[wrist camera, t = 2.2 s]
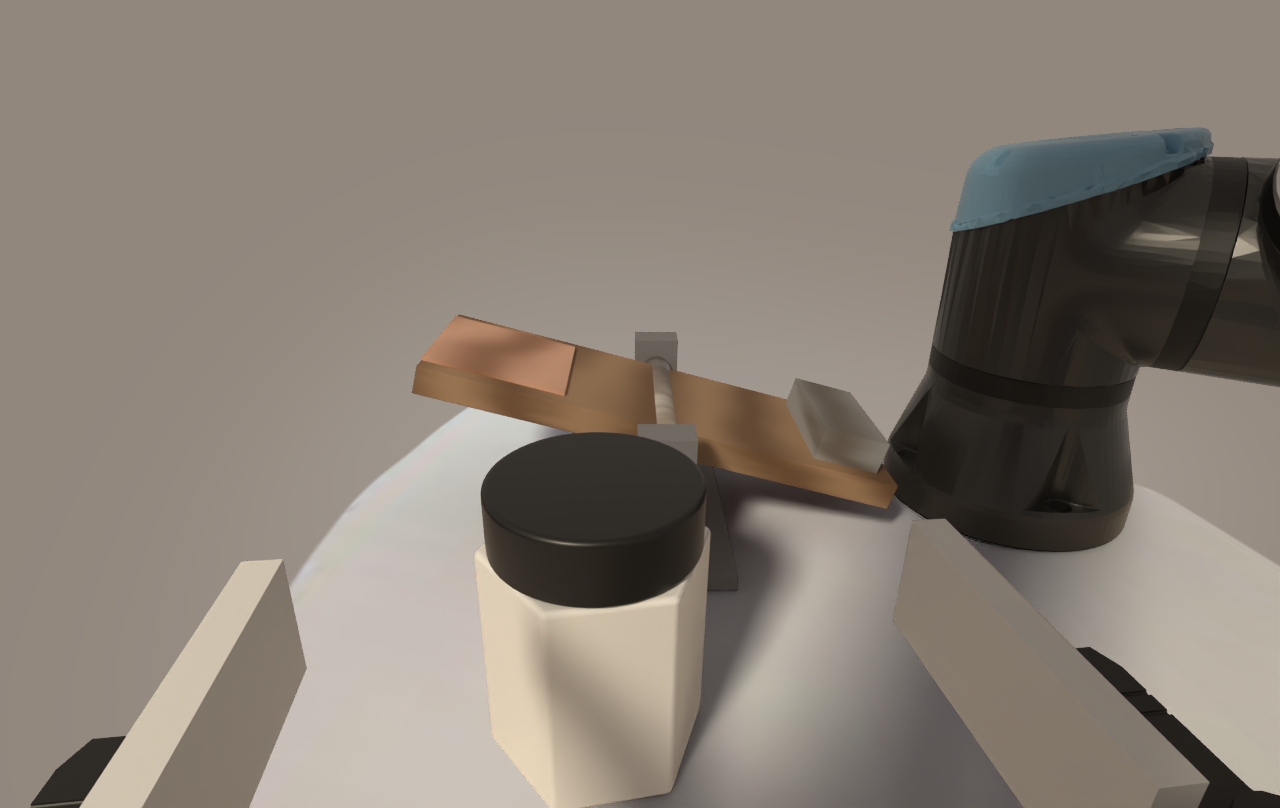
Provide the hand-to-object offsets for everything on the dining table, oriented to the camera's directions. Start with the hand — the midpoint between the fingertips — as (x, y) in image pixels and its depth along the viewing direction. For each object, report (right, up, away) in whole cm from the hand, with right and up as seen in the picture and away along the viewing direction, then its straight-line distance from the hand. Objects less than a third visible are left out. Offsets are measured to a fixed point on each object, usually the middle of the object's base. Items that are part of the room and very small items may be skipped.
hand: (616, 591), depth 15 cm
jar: (-1, -10, +15) cm, 18 cm away
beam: (+2, +4, +29) cm, 29 cm away
